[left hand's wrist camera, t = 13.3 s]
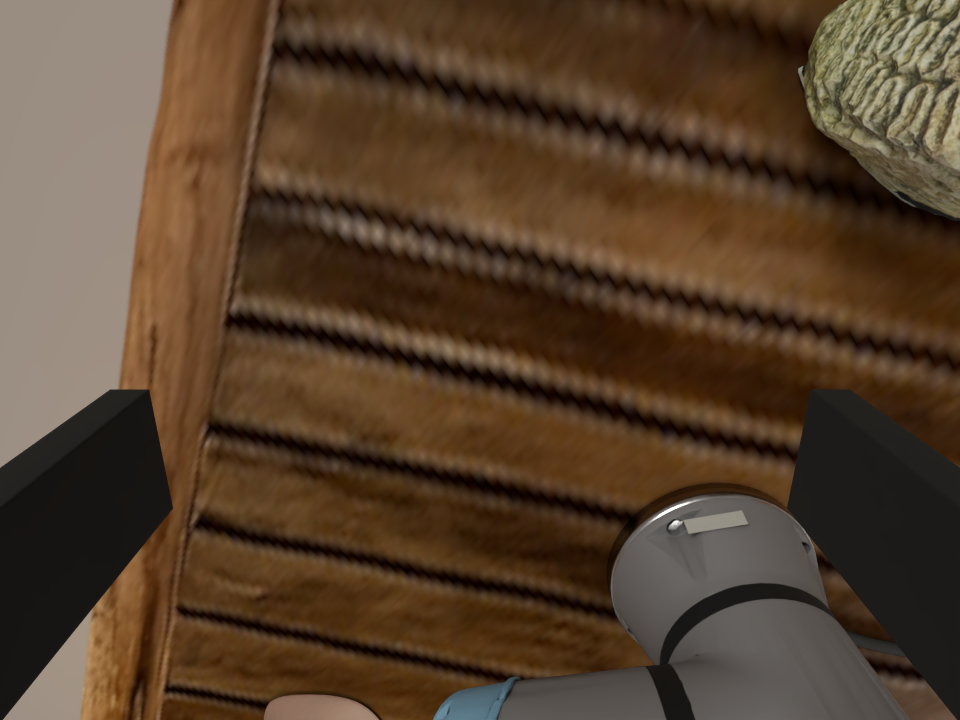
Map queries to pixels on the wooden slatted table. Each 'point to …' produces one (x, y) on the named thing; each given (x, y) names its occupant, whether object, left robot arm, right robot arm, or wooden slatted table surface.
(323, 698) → the anatomical model
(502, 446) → the wooden slatted table surface
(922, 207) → the fossil
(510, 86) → the wooden slatted table surface
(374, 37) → the wooden slatted table surface
